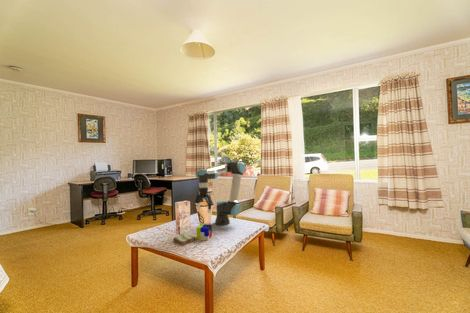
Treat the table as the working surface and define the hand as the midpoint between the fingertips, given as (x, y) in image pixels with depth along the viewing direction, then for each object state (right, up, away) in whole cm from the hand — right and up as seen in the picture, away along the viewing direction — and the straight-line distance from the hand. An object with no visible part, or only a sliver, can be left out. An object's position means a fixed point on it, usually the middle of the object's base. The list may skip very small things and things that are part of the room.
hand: (203, 211), depth 186 cm
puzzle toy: (+1, -23, 0) cm, 23 cm away
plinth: (-15, -23, -6) cm, 28 cm away
